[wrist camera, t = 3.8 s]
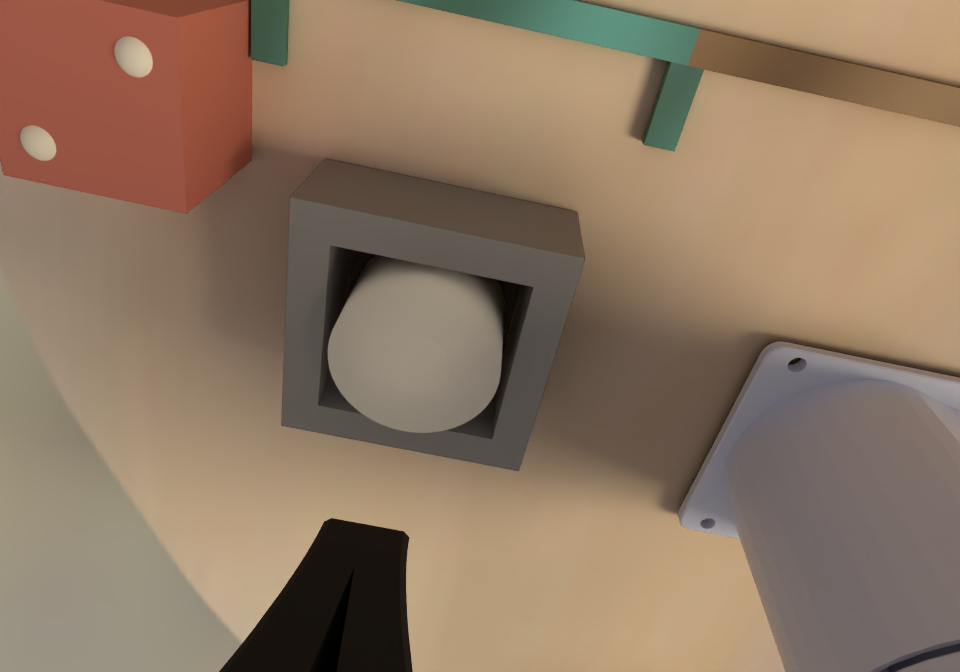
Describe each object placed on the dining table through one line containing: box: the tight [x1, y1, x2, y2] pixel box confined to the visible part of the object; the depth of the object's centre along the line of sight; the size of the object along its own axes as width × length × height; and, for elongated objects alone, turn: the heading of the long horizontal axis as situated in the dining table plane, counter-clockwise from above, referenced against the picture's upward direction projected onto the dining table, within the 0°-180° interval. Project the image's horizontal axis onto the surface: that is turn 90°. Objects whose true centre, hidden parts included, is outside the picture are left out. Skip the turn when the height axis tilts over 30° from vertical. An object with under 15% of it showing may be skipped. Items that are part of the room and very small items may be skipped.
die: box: [0, 0, 252, 213], centre depth 15 cm, size 4×4×4 cm
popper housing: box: [281, 159, 585, 471], centre depth 18 cm, size 7×7×3 cm
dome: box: [328, 255, 505, 433], centre depth 18 cm, size 4×4×3 cm
